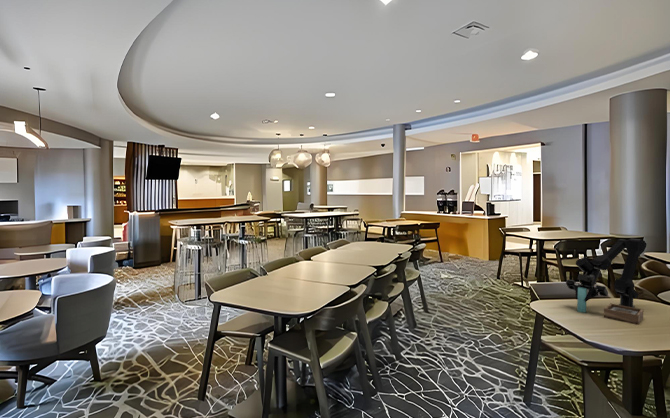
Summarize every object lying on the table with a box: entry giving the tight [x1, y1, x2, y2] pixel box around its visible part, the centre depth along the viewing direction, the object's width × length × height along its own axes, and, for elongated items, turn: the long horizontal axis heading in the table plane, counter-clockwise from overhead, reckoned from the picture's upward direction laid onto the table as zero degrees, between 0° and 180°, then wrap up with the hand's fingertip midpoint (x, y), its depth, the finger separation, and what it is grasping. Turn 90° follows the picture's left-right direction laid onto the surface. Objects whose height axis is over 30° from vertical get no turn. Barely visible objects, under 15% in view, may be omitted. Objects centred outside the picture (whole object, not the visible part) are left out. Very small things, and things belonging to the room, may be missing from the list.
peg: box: [576, 287, 588, 314], centre depth 190 cm, size 4×4×13 cm
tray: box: [603, 302, 644, 325], centre depth 180 cm, size 14×14×4 cm
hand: (580, 300), depth 189 cm, fingers closed on peg, 4 cm apart
